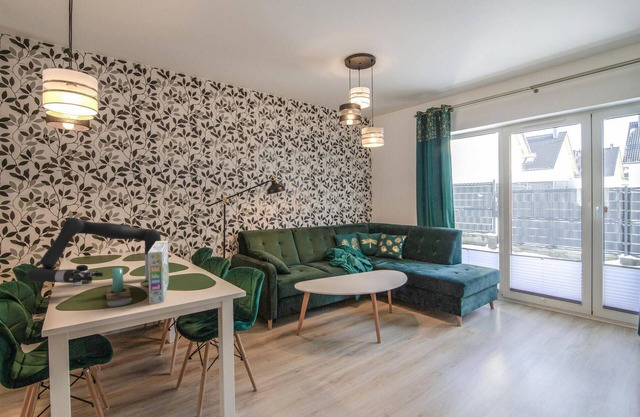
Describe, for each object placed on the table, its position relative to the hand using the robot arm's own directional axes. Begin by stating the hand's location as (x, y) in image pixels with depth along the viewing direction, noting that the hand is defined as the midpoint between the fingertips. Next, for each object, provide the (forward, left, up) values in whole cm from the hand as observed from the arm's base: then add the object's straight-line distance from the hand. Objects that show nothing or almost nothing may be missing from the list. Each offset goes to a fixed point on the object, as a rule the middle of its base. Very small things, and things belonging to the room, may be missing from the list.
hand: (97, 276), depth 177 cm
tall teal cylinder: (-9, +6, -11) cm, 16 cm away
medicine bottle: (+8, -34, -11) cm, 36 cm away
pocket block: (-9, +6, -11) cm, 16 cm away
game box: (-29, +14, -11) cm, 34 cm away
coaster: (-9, +21, -11) cm, 26 cm away
